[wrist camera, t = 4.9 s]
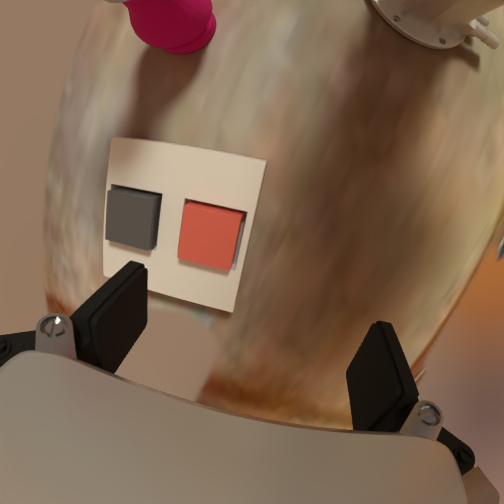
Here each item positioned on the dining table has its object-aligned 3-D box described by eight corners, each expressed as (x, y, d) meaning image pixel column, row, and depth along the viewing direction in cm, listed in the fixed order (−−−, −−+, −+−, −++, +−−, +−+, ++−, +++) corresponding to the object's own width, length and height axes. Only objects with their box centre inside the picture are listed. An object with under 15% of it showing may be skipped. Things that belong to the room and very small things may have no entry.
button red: (244, 211, 26) (240, 218, 24) (234, 260, 28) (229, 271, 26) (192, 200, 26) (184, 205, 24) (185, 248, 28) (177, 258, 26)
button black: (163, 194, 26) (152, 199, 24) (158, 242, 28) (147, 250, 26) (120, 186, 27) (107, 190, 24) (117, 231, 28) (105, 239, 26)
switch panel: (267, 160, 26) (266, 161, 23) (236, 298, 31) (232, 312, 29) (126, 137, 26) (111, 137, 24) (116, 265, 32) (103, 275, 29)
